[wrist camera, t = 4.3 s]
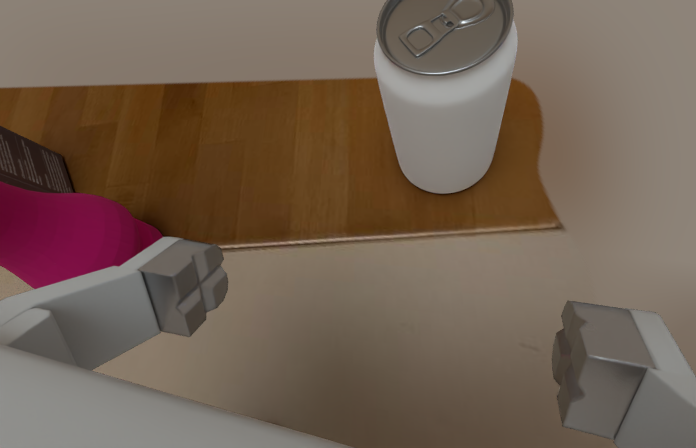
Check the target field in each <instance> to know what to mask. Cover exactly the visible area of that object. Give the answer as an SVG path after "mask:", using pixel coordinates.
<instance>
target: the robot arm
mask: <svg viewBox="0 0 696 448" xmlns="http://www.w3.org/2000/svg"><path fill="white" fill-rule="evenodd" d="M223 260H224V258H223V254H222V250H221V248H220V247H219V246H217V245H216V244H210V243H205V242H199V241H194V240H188V239H182V238H177V237H162V238H161V239H159V240H158V241H156V242H155V243H153V244H152V245H150V246H149V247H148V248H146V249H145V250H143V251H142V252H140V253H139V254H137V255H136V256H134V257H133V258H131V259H130V260H128V261H127V262H125V263H124V264H122V265H121V266H119V267H118V266H112V267H108V268H105V269H102V270H98V271H95V272H91V273H88V274H85V275H81V276H78V277H74V278H71V279H68V280H64V281H61V282H58V283H54V284H51V285H47V286H44V287H41V288H37V289H34V290H30V291H27V292H24V293H20V294H17V295H13V296H10V297H7V298H4V299H3V300H1V301H0V448H354V447H351V446H348V445H344V444H341V443H337V442H334V441H330V440H327V439H324V438H320V437H317V436H313V435H310V434H306V433H303V432H300V431H296V430H293V429H289V428H286V427H283V426H279V425H276V424H272V423H269V422H265V421H262V420H259V419H255V418H252V417H248V416H245V415H242V414H238V413H235V412H231V411H228V410H224V409H221V408H218V407H214V406H211V405H207V404H204V403H200V402H197V401H194V400H190V399H187V398H183V397H180V396H177V395H173V394H170V393H166V392H163V391H159V390H156V389H153V388H149V387H146V386H142V385H139V384H135V383H132V382H129V381H125V380H122V379H118V378H115V377H111V376H108V375H105V374H101V373H98V372H94V371H91V370H93V369H95V368H97V367H99V366H100V365H102V364H104V363H106V362H108V361H110V360H111V359H113V358H115V357H117V356H119V355H121V354H123V353H124V352H126V351H128V350H130V349H132V348H134V347H135V346H137V345H139V344H141V343H143V342H145V341H147V340H148V339H150V338H152V337H154V336H156V335H158V334H159V333H161V332H160V331H162V332H167V333H172V334H177V335H182V336H187V337H190V336H191V335H192V334H193V333H194V332H195V331H196V330H197V329H198V328H199V327H200V326H201V325H202V323H203V322H204V321H205V320H206V313H207V312H209V311H211V310H214V309H216V308H217V307H218V306H219V305H220V304H221V303H222V302H223V300H224V298H225V296H226V293H227V291H228V278H227V273H226V272H225V271H224V270H223V268H222V267H221V266H220V265H221V263H222V262H223ZM561 317H562V322H563V326H564V328H563V329H562V330H560V331H559V332H557V333H556V336H555V340H554V344H553V352H552V370H553V377H554V379H555V381H556V382H557V383H558V384H559V385H560V389H559V392H558V395H557V400H558V405H559V411H560V416H561V421H562V426H563V427H566V428H570V429H574V430H578V431H582V432H585V433H589V434H593V435H597V436H600V437H604V438H608V439H612V440H614V443H615V445H616V446H617V447H618V448H696V376H695V374H694V373H693V371H692V369H691V368H690V366H689V364H688V362H687V361H686V359H685V357H684V355H683V354H682V352H681V350H680V349H679V347H678V345H677V343H676V342H675V340H674V338H673V336H672V335H671V333H670V331H669V329H668V328H667V326H666V324H665V323H664V321H663V319H662V317H661V316H660V315H659V314H657V313H656V312H650V311H642V310H635V309H627V308H625V309H622V308H616V307H609V306H602V305H595V304H588V303H581V302H575V301H567V302H566V304H565V306H564V309H563V312H562V315H561Z"/></svg>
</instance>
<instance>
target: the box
mask: <svg viewBox="0 0 696 448" xmlns="http://www.w3.org/2000/svg"><path fill="white" fill-rule="evenodd" d="M0 181H1V182H3V183H5V184H9V185H12V186H15V187H19V188H22V189H25V190H29V191H36V192H43V193H74V192H73V190H72V187H71V184H70V180H69V178H68V175H67V172H66V169H65V166H64V163H63V160H62V156H61V155H60V154H58V153H56V152H53V151H51V150H49V149H47V148H45V147H43V146H41V145H39V144H37V143H35V142H33V141H31V140H29V139H27V138H24V137H22V136H20V135H18V134H16V133H14V132H12V131H10V130H8V129H6V128H3V127H1V126H0Z"/></svg>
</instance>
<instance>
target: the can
mask: <svg viewBox="0 0 696 448" xmlns="http://www.w3.org/2000/svg"><path fill="white" fill-rule="evenodd" d="M513 12H514V11H513V4H512V0H387V1H386V2H385V4H384V6H383V7H382V10H381V11H380V14H379V17H378V21H377V29H376V30H377V39H376V43H375V48H374V64H375V70H376V75H377V79H378V84H379V88H380V92H381V96H382V100H383V104H384V108H385V112H386V116H387V120H388V124H389V128H390V132H391V136H392V139H393V143H394V147H395V151H396V155H397V158H398V162H399V165H400V168H401V170H402V172H403V173H404V175H405V176H406V178H407V179H408V180H409V181H410V182H411V183H413V184H414V185H415V186H417V187H419V188H421V189H423V190H425V191H428V192H432V193H439V194H447V193H454V192H458V191H462V190H464V189H466V188H468V187H470V186H472V185H474V184H475V183H476V182H478V181H479V180H480V179H481V178H482V177H483V176H484V174H485V173H486V172H487V170H488V168H489V166H490V164H491V162H492V159H493V155H494V151H495V147H496V143H497V139H498V134H499V130H500V126H501V121H502V117H503V113H504V108H505V104H506V100H507V95H508V91H509V86H510V82H511V77H512V73H513V68H514V63H515V58H516V53H517V41H518V38H517V30H516V26H515V23H514V20H513V15H514V13H513Z"/></svg>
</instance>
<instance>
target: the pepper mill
mask: <svg viewBox="0 0 696 448" xmlns="http://www.w3.org/2000/svg"><path fill="white" fill-rule="evenodd" d="M162 237H163V236H162V234H161V233H160V232H159V231H158V230H157V229H156V228H155V227H153V226H151V225H149V224H147V223H145V222H142V221H140V220H138V219H135V218H133V216H132V215H131V213H130V212H129V211H128V210H127V209H126V208H125V207H123V206H122V205H120V204H119V203H117V202H115V201H112V200H109V199H107V198H104V197H101V196H96V195H90V194H83V193H43V192H36V191H29V190H25V189H22V188H19V187H15V186H12V185H9V184H5V183H3V182H1V181H0V266H2V267H4V268H6V269H7V270H9V271H10V272H12V273H13V274H15V275H16V276H18V277H19V278H20V279H22V280H23V281H24V282H26V283H27V284H29V285H30V286H31V287H33V288H34V289H37V288H41V287H44V286H47V285H51V284H54V283H58V282H61V281H64V280H68V279H71V278H74V277H78V276H81V275H85V274H88V273H91V272H95V271H98V270H102V269H105V268H108V267H112V266H118V267H119V266H121V265H122V264H124V263H125V262H127V261H128V260H130V259H131V258H133V257H134V256H136V255H137V254H139V253H140V252H142V251H143V250H145V249H146V248H148V247H149V246H150V245H152V244H153V243H155V242H156V241H158V240H159V239H161V238H162Z"/></svg>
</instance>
